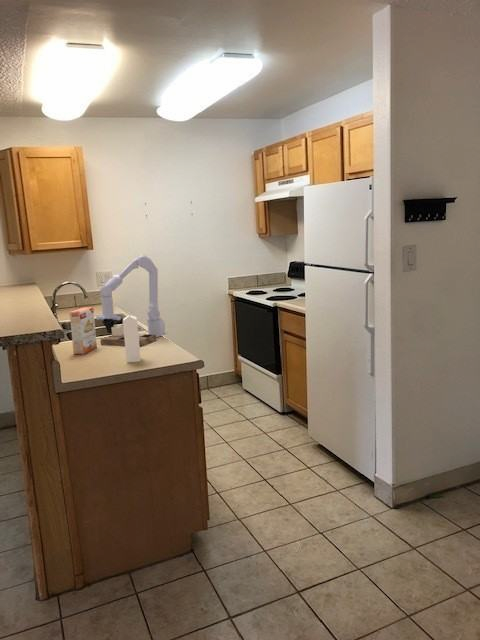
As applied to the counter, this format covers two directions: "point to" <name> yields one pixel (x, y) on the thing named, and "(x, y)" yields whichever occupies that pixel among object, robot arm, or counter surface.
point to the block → (117, 330)
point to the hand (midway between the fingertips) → (110, 333)
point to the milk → (131, 338)
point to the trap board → (120, 340)
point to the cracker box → (83, 330)
